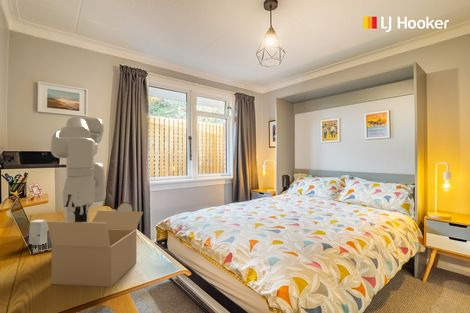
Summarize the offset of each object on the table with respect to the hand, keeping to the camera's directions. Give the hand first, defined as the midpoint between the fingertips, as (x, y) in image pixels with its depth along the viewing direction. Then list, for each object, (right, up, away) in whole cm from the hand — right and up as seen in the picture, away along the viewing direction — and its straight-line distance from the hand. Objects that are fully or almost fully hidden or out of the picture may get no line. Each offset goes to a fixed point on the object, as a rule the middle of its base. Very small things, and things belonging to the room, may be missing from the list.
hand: (81, 225), depth 81 cm
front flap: (0, -3, -1) cm, 3 cm away
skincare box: (-45, -21, +36) cm, 61 cm away
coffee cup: (-19, -21, +57) cm, 63 cm away
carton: (0, -21, +9) cm, 23 cm away
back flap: (+1, -4, +22) cm, 22 cm away
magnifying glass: (-6, -21, +44) cm, 49 cm away
